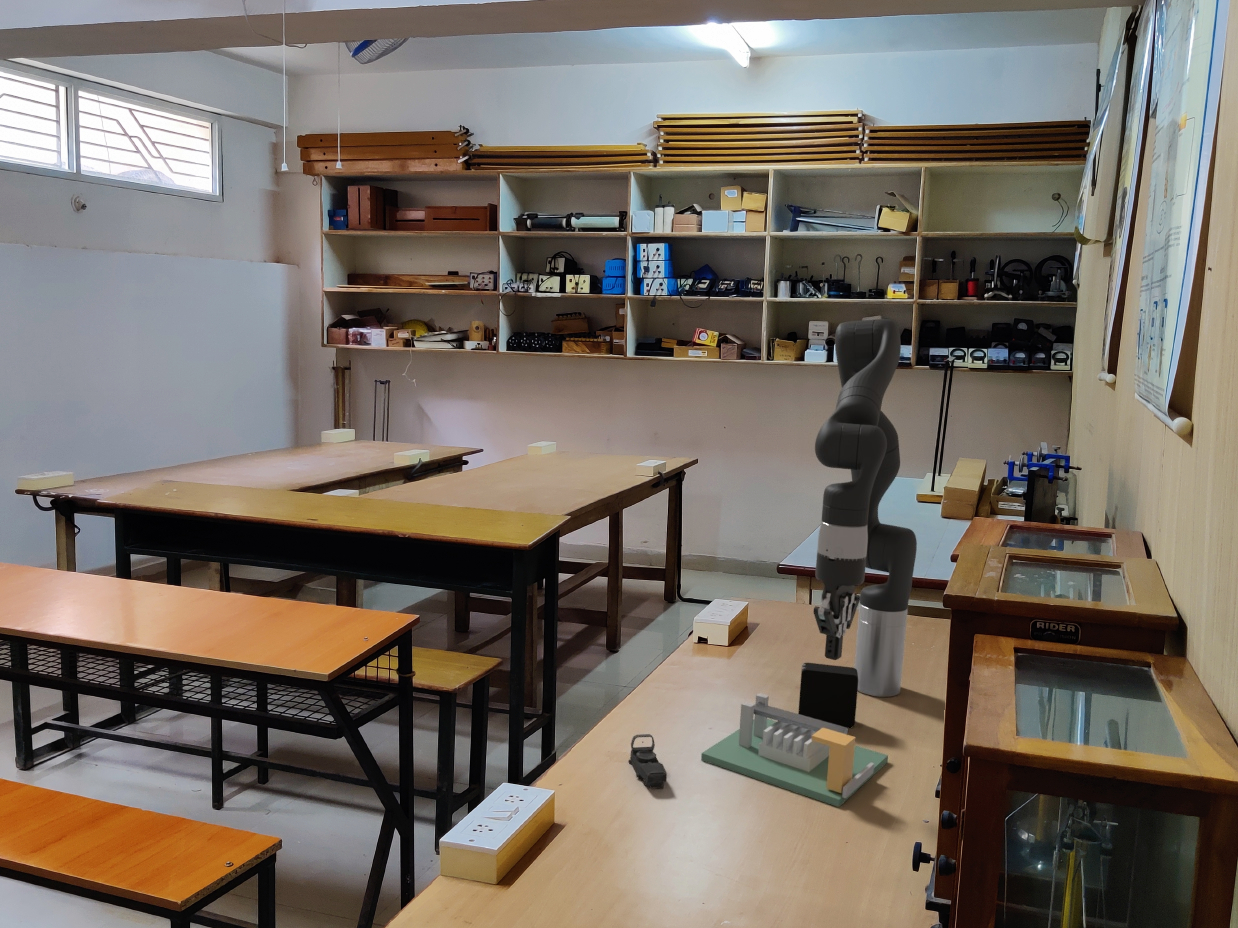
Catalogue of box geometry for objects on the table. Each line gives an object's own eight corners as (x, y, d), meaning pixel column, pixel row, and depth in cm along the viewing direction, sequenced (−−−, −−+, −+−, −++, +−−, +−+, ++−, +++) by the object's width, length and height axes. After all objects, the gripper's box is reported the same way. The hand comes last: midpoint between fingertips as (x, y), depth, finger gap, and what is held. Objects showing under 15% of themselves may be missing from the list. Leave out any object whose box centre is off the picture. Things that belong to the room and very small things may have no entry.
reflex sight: (643, 792, 150) (644, 761, 149) (628, 762, 160) (629, 733, 159) (667, 791, 151) (669, 760, 150) (651, 761, 160) (653, 732, 160)
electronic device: (854, 729, 177) (858, 675, 175) (797, 722, 178) (801, 669, 177) (853, 719, 181) (858, 667, 179) (798, 713, 183) (802, 661, 181)
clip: (819, 773, 155) (822, 727, 154) (851, 783, 152) (855, 736, 151) (808, 782, 152) (811, 735, 151) (841, 793, 149) (845, 745, 148)
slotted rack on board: (758, 722, 177) (761, 677, 176) (890, 762, 163) (895, 714, 162) (701, 759, 161) (704, 711, 160) (842, 808, 147) (847, 755, 146)
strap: (756, 706, 168) (757, 700, 168) (848, 732, 158) (848, 726, 158) (746, 712, 165) (747, 707, 165) (839, 739, 156) (839, 733, 155)
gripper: (836, 540, 161) (828, 643, 163) (801, 553, 150) (792, 662, 153) (880, 548, 157) (871, 653, 159) (847, 562, 146) (837, 674, 149)
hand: (832, 657), depth 156 cm, fingers closed
